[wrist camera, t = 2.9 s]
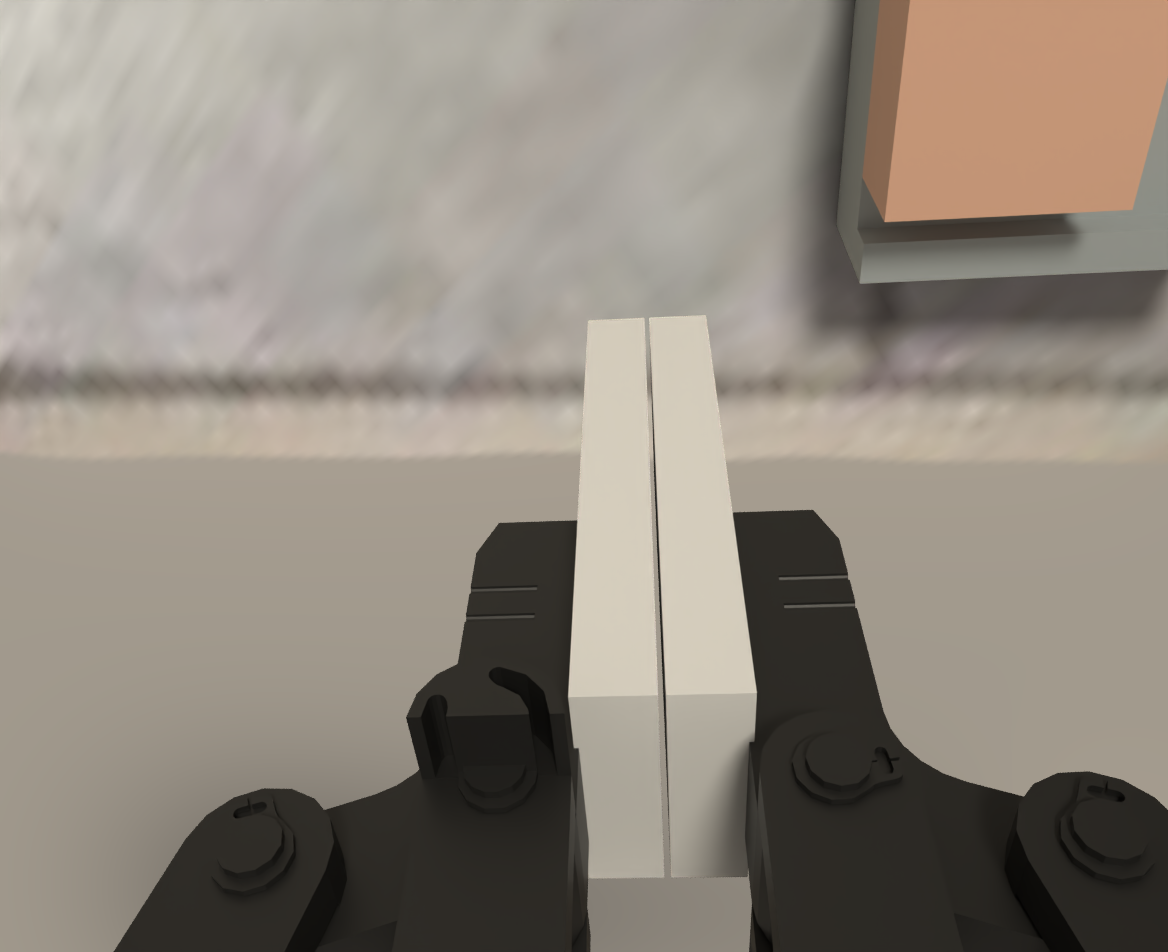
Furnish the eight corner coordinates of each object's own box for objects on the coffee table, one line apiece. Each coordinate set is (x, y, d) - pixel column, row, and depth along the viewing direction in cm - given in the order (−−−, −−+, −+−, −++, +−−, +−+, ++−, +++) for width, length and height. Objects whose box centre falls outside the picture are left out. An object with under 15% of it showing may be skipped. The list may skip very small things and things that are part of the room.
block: (886, -68, 25) (914, -42, 22) (1147, -86, 24) (1204, -61, 22) (862, 177, 28) (884, 222, 26) (1088, 165, 28) (1132, 209, 25)
